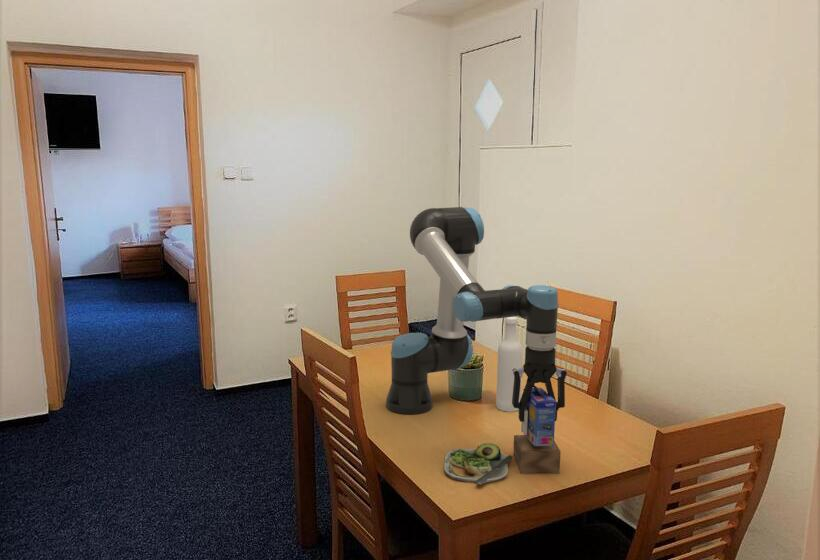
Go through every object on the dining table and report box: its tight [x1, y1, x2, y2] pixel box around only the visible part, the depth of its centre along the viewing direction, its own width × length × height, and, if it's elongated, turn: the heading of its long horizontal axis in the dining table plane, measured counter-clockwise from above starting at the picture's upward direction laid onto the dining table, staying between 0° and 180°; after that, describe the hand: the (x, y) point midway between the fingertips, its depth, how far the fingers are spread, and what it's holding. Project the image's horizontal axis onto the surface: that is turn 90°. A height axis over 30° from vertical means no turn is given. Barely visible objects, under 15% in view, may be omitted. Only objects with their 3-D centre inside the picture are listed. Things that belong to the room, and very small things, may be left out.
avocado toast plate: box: [443, 442, 514, 485], centre depth 165 cm, size 19×18×5 cm
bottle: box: [495, 317, 524, 413], centre depth 206 cm, size 8×8×30 cm
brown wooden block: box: [512, 434, 561, 475], centre depth 168 cm, size 10×10×6 cm
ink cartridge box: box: [521, 385, 557, 446], centre depth 166 cm, size 10×6×14 cm, turn 12°
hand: (537, 432), depth 167 cm, fingers closed on ink cartridge box, 6 cm apart
